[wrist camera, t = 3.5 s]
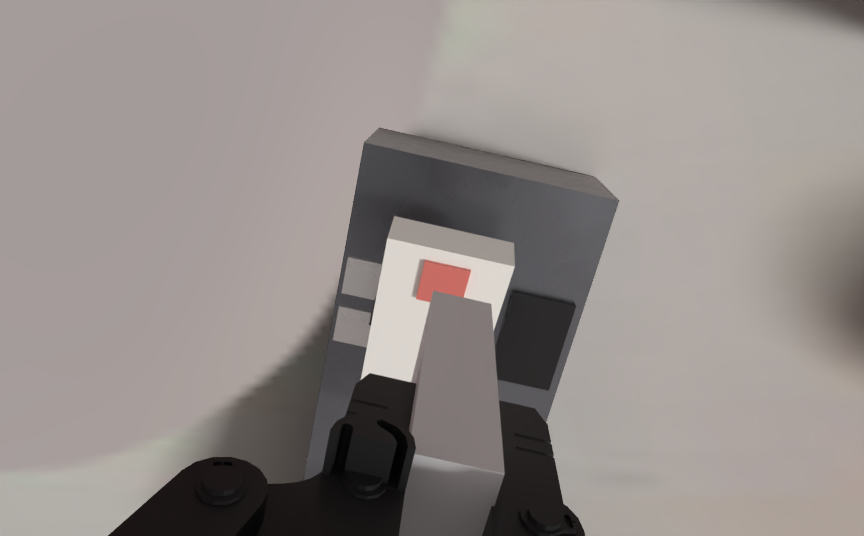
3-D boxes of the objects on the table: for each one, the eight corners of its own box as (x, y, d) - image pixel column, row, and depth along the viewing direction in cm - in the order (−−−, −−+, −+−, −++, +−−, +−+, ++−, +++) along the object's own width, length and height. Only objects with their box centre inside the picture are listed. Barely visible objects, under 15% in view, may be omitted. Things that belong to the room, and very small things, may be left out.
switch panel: (297, 567, 37) (270, 650, 32) (379, 127, 28) (360, 145, 23) (463, 602, 37) (462, 690, 32) (595, 177, 28) (624, 206, 23)
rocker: (360, 394, 27) (351, 424, 26) (394, 215, 22) (386, 240, 21) (458, 415, 27) (456, 447, 26) (514, 242, 22) (514, 268, 21)
